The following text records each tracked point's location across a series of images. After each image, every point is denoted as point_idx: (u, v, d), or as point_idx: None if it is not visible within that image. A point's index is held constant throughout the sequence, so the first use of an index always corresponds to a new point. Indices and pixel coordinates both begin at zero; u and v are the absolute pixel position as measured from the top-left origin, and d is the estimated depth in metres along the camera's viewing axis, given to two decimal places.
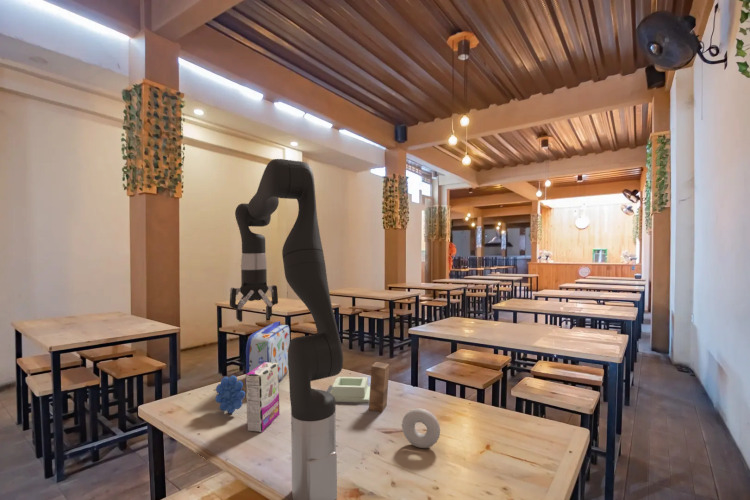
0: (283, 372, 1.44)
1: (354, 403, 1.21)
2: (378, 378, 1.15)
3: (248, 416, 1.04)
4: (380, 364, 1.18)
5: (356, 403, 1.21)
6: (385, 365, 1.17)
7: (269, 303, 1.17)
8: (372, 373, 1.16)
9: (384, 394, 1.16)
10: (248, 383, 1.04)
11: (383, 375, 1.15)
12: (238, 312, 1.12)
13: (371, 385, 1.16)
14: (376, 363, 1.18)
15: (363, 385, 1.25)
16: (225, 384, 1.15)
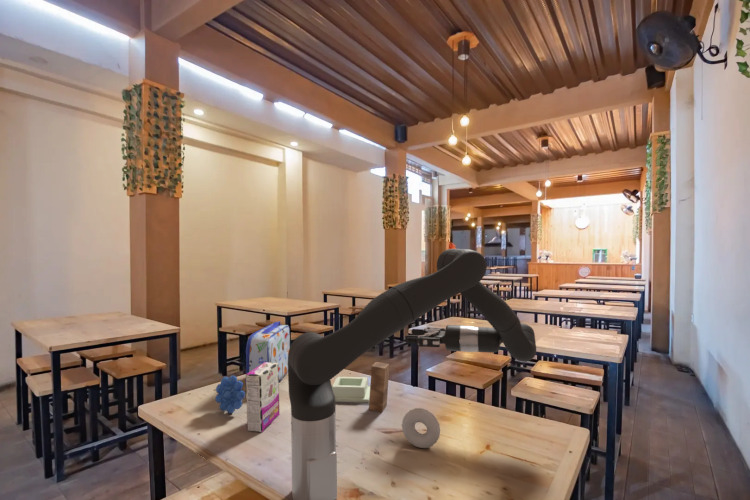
0: (283, 372, 1.44)
1: (354, 403, 1.21)
2: (378, 378, 1.15)
3: (248, 416, 1.04)
4: (380, 364, 1.18)
5: (356, 403, 1.21)
6: (385, 365, 1.17)
7: (421, 335, 1.09)
8: (372, 373, 1.16)
9: (384, 394, 1.16)
10: (248, 383, 1.04)
11: (383, 375, 1.15)
12: None
13: (371, 385, 1.16)
14: (376, 363, 1.18)
15: (363, 385, 1.25)
16: (225, 384, 1.15)
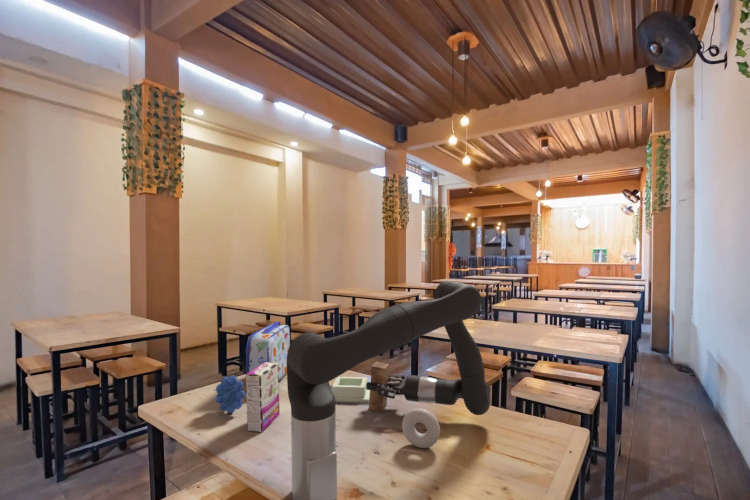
0: (283, 372, 1.44)
1: (354, 403, 1.21)
2: (378, 378, 1.15)
3: (248, 416, 1.04)
4: (380, 364, 1.18)
5: (356, 403, 1.21)
6: (385, 365, 1.17)
7: (381, 383, 1.14)
8: (372, 373, 1.16)
9: None
10: (248, 383, 1.04)
11: (383, 375, 1.15)
12: None
13: None
14: (376, 363, 1.18)
15: (363, 385, 1.25)
16: (225, 384, 1.15)
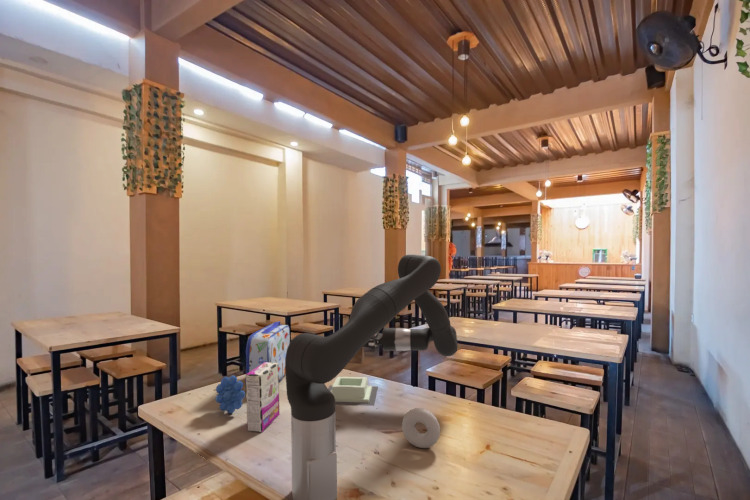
0: (283, 372, 1.44)
1: (354, 403, 1.21)
2: None
3: (248, 416, 1.04)
4: None
5: (356, 403, 1.21)
6: None
7: None
8: None
9: (363, 347, 1.26)
10: (248, 383, 1.04)
11: None
12: None
13: None
14: None
15: (363, 385, 1.25)
16: (225, 384, 1.15)
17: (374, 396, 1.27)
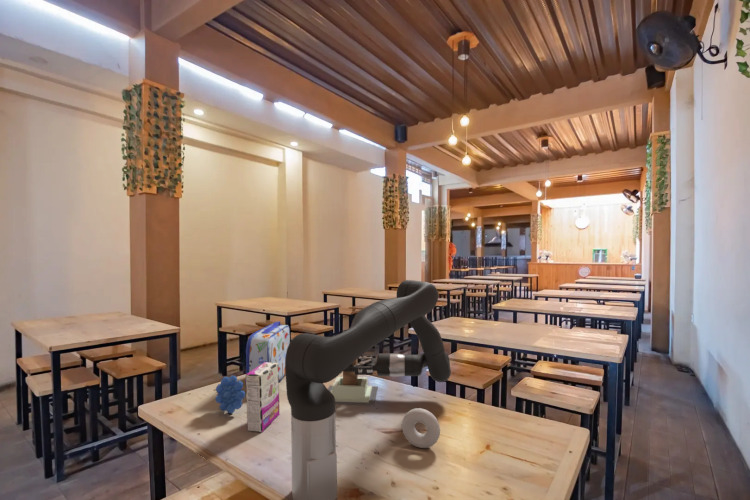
0: (283, 372, 1.44)
1: (354, 403, 1.21)
2: None
3: (248, 416, 1.04)
4: None
5: (356, 403, 1.21)
6: None
7: (356, 364, 1.24)
8: None
9: (356, 377, 1.27)
10: (248, 383, 1.04)
11: None
12: None
13: None
14: None
15: (363, 385, 1.25)
16: (225, 384, 1.15)
17: (374, 396, 1.27)
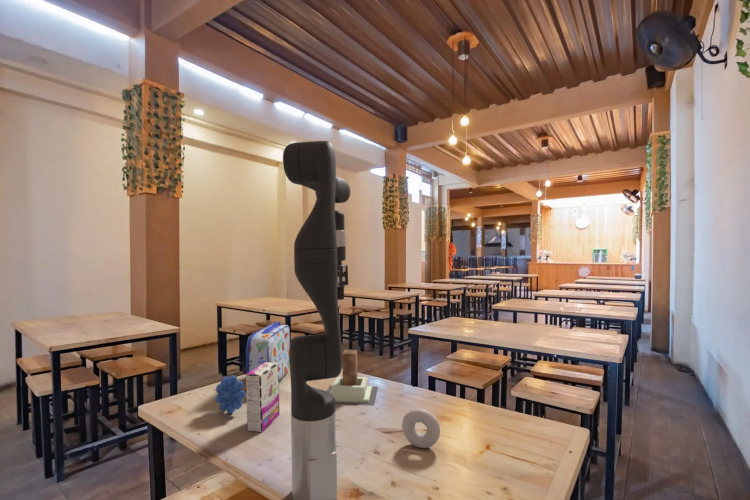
0: (283, 372, 1.44)
1: (354, 403, 1.21)
2: (350, 364, 1.26)
3: (248, 416, 1.04)
4: (349, 351, 1.29)
5: (356, 403, 1.21)
6: (354, 351, 1.28)
7: (336, 283, 1.09)
8: (343, 360, 1.26)
9: (356, 377, 1.27)
10: (248, 383, 1.04)
11: (354, 360, 1.26)
12: None
13: (343, 371, 1.26)
14: (345, 351, 1.29)
15: (363, 385, 1.25)
16: (225, 384, 1.15)
17: (374, 396, 1.27)
